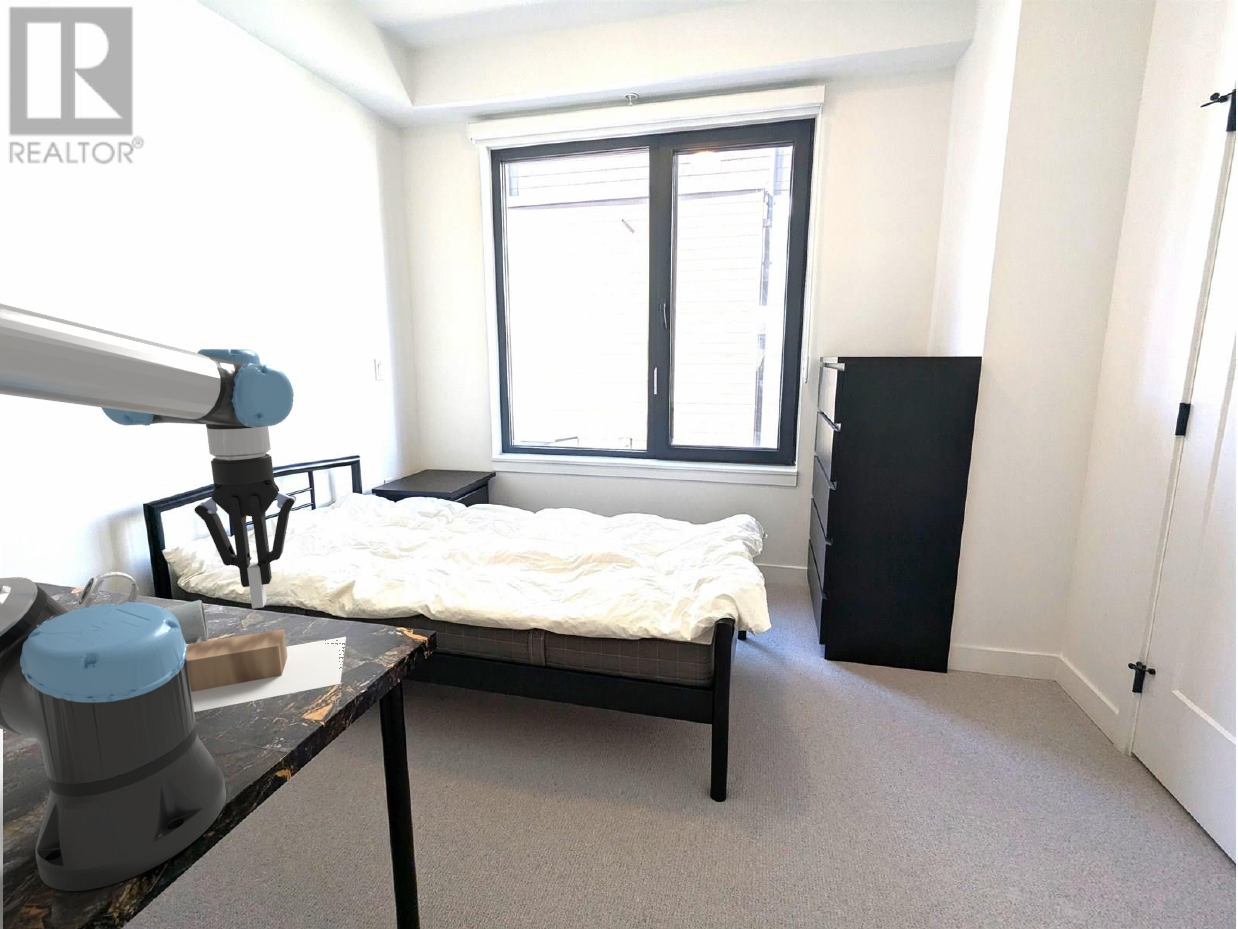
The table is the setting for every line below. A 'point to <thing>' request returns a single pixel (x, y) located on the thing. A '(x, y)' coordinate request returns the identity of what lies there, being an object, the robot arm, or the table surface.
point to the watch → (96, 584)
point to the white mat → (282, 677)
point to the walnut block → (236, 659)
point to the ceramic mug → (191, 621)
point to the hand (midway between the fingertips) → (259, 604)
